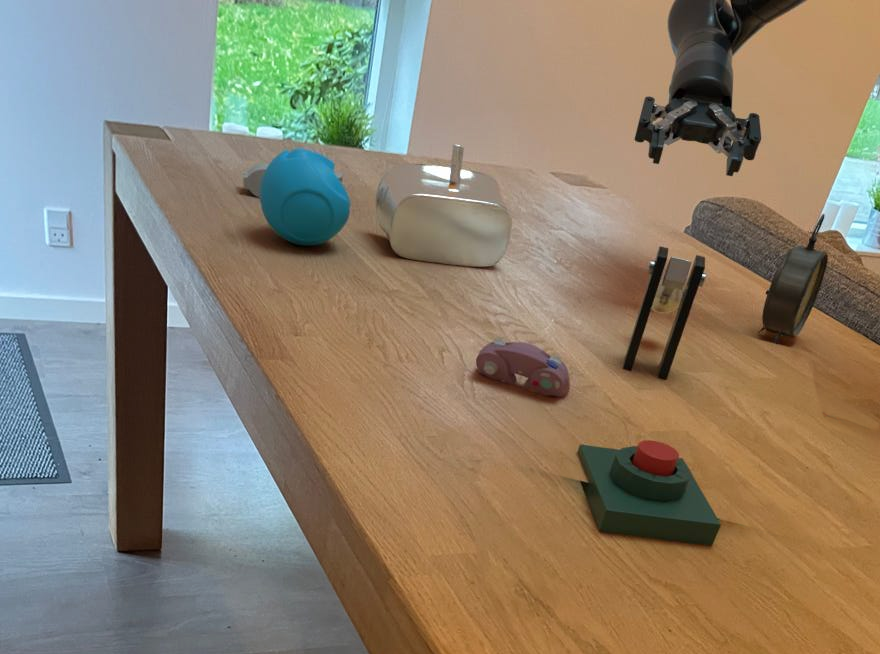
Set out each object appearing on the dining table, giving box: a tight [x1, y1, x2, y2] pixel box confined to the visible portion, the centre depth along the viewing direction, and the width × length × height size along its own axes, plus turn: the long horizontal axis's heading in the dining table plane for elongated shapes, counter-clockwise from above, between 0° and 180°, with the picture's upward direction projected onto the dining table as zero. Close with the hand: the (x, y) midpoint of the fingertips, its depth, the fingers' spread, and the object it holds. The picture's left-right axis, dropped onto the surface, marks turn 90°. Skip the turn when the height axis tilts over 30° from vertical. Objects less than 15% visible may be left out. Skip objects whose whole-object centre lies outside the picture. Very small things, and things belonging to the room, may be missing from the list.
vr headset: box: [374, 143, 513, 268], centre depth 135 cm, size 18×11×14 cm, turn 99°
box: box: [577, 443, 722, 547], centre depth 86 cm, size 12×10×4 cm
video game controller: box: [475, 337, 571, 398], centre depth 101 cm, size 10×5×7 cm, turn 68°
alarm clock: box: [757, 213, 829, 345], centre depth 128 cm, size 11×5×16 cm, turn 147°
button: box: [632, 439, 680, 476], centre depth 85 cm, size 4×4×2 cm
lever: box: [651, 256, 693, 315], centre depth 111 cm, size 14×4×4 cm, turn 166°
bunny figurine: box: [242, 162, 346, 199], centre depth 148 cm, size 10×5×15 cm
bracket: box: [622, 246, 707, 381], centre depth 108 cm, size 12×9×14 cm
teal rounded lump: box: [260, 147, 351, 247], centre depth 129 cm, size 12×11×12 cm
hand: (695, 162), depth 113 cm, fingers open, 8 cm apart
